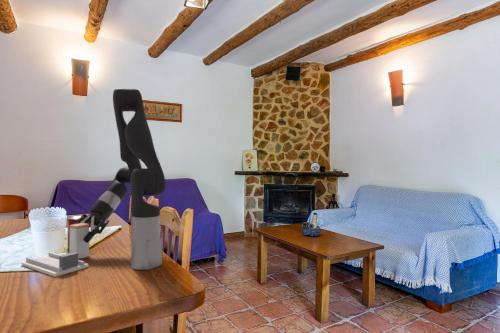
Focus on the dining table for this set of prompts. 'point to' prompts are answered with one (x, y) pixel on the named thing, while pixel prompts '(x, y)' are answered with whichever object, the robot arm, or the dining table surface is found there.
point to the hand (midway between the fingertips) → (78, 239)
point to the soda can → (70, 222)
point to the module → (79, 239)
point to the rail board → (56, 264)
